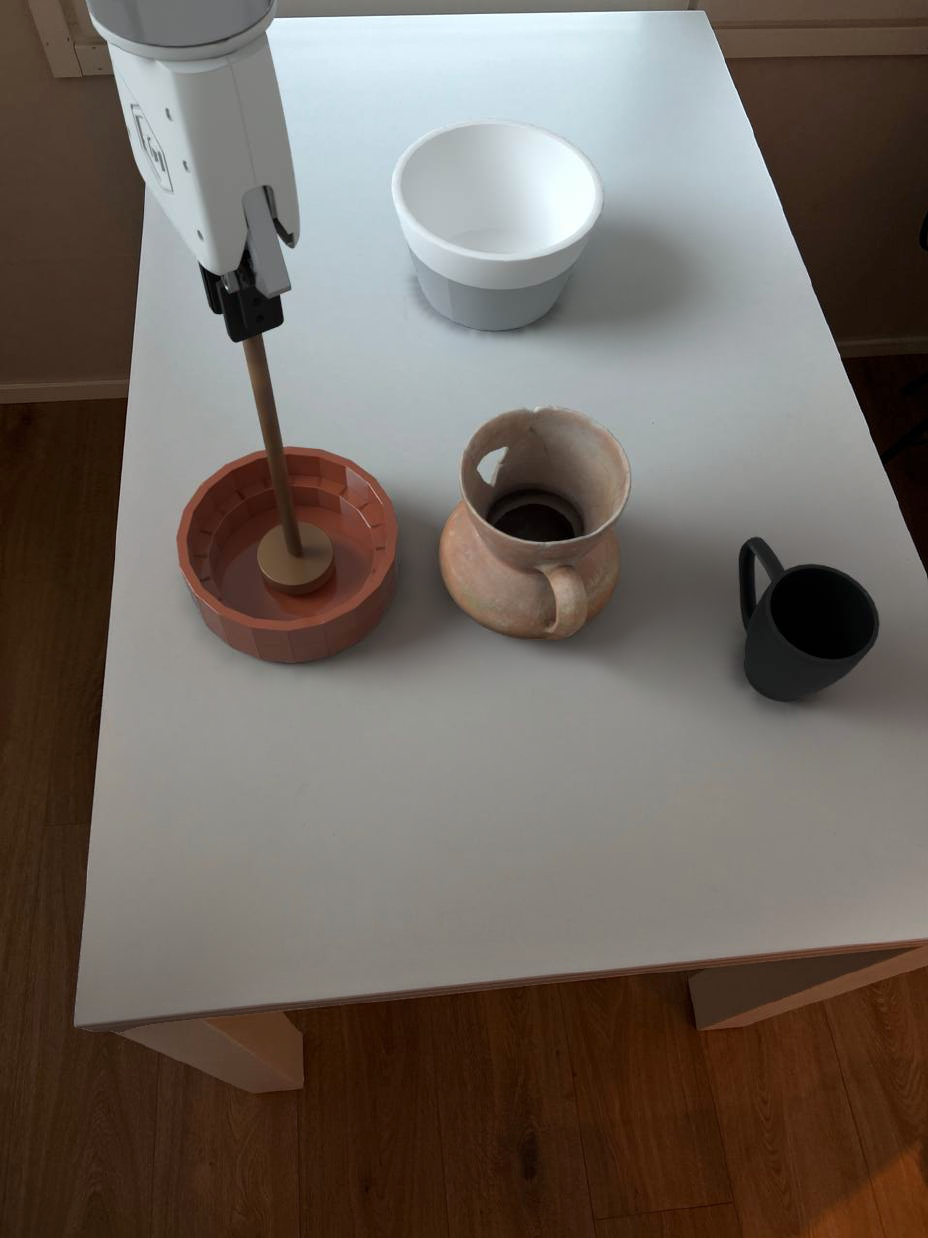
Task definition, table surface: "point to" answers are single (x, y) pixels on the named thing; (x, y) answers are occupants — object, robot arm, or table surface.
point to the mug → (801, 625)
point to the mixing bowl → (246, 511)
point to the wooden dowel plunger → (284, 498)
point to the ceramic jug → (537, 523)
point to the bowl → (495, 218)
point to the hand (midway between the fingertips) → (247, 315)
